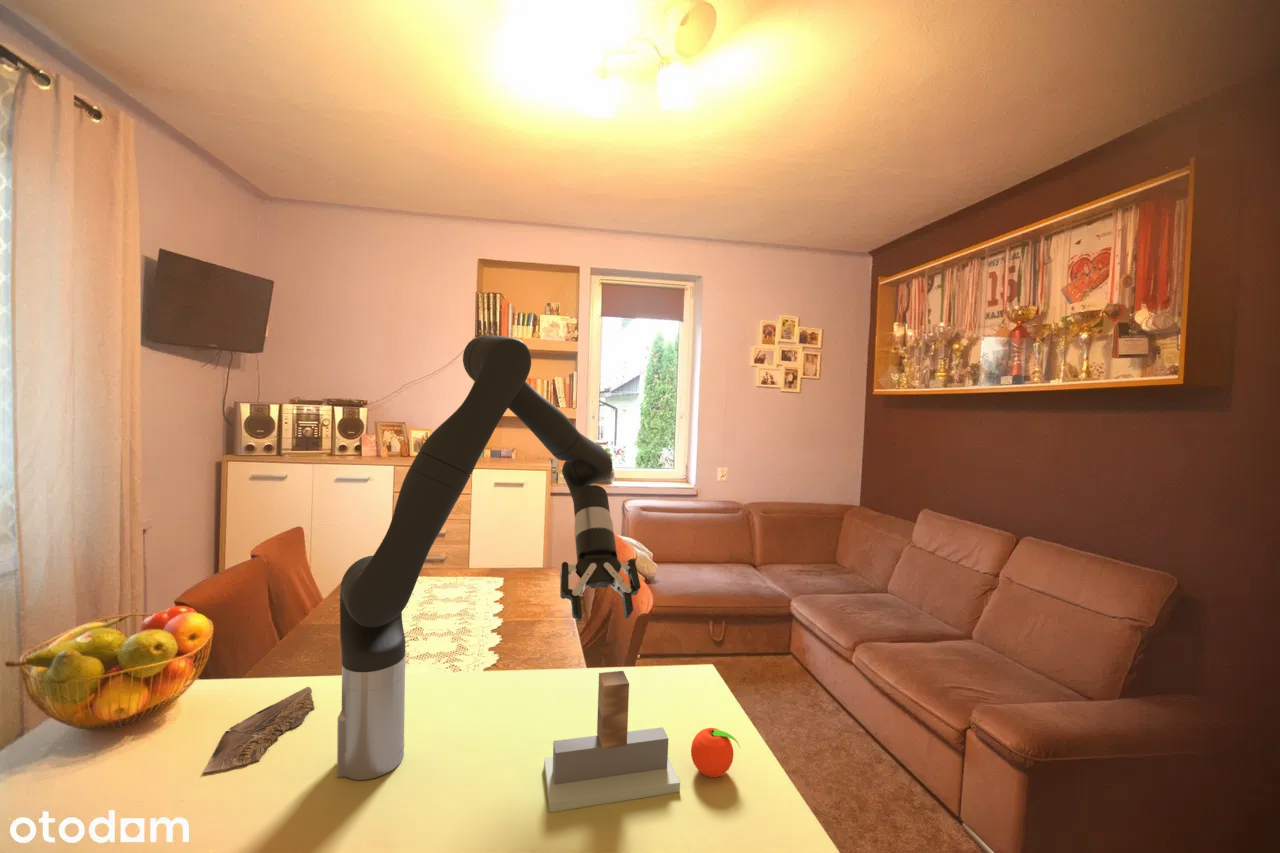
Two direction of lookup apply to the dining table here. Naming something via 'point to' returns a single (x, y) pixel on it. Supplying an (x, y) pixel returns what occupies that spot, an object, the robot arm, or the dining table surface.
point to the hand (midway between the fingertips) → (603, 618)
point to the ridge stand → (609, 770)
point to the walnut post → (612, 709)
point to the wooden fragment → (259, 732)
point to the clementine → (712, 752)
